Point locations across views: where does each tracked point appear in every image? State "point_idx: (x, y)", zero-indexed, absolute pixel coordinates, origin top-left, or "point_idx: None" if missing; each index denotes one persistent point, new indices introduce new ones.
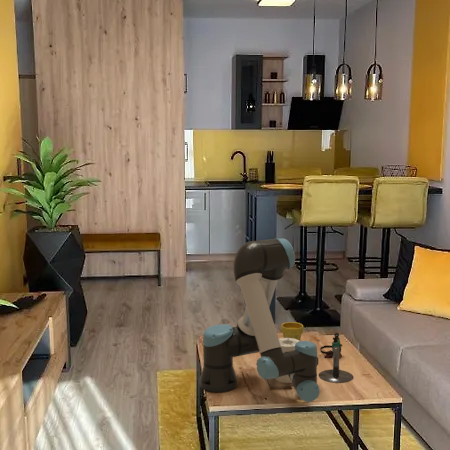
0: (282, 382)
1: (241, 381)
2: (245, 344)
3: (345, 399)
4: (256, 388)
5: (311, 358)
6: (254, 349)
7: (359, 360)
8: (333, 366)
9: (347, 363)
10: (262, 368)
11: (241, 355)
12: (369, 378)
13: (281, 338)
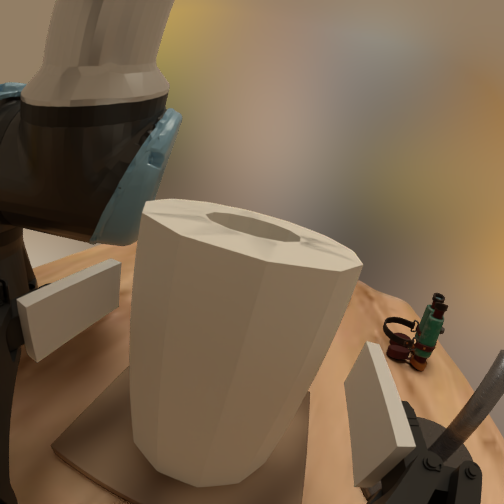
0: (140, 454)
1: None
2: (11, 162)
3: None
4: (22, 399)
5: None
6: (58, 212)
7: (461, 378)
8: (447, 437)
9: (441, 385)
10: None
11: (27, 228)
12: (500, 466)
13: (242, 209)
